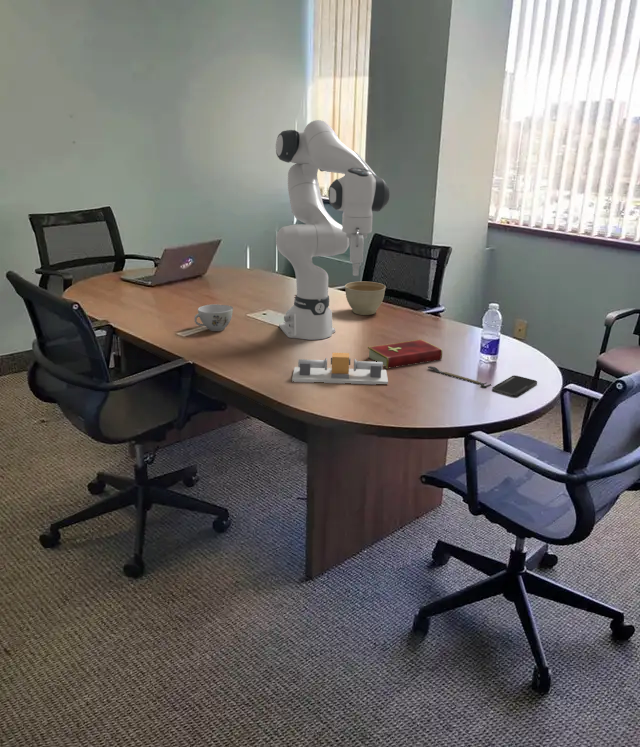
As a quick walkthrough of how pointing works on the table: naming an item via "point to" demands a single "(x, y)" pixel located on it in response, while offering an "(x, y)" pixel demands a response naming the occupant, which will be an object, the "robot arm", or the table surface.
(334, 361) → the block
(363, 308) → the planter bowl
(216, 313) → the teacup
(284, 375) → the table surface
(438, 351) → the hardcover book
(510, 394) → the phone
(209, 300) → the table surface
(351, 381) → the shaft rig
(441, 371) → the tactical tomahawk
